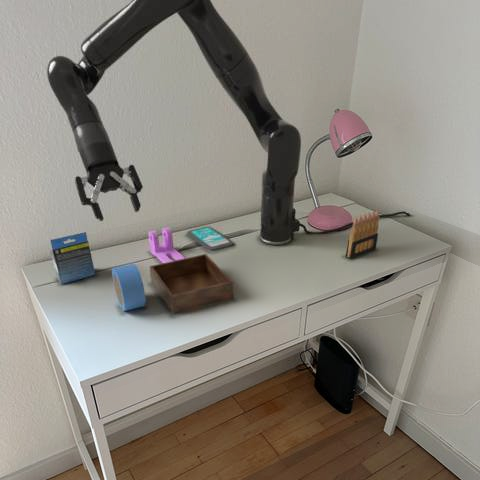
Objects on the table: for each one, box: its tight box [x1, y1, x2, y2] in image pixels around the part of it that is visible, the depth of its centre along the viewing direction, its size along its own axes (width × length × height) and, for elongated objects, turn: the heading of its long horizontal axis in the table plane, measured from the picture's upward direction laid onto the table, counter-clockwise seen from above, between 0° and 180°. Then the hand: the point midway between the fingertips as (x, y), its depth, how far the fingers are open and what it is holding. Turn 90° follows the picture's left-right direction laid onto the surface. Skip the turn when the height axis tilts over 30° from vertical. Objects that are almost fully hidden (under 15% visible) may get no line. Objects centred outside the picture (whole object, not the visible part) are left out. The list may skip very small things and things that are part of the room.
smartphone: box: [186, 226, 234, 252], centre depth 138 cm, size 9×1×15 cm
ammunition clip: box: [345, 209, 380, 260], centre depth 128 cm, size 11×2×12 cm, turn 126°
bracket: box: [148, 226, 186, 263], centre depth 126 cm, size 13×6×7 cm, turn 33°
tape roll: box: [111, 263, 146, 312], centre depth 105 cm, size 5×10×10 cm, turn 27°
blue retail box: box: [50, 231, 96, 285], centre depth 116 cm, size 9×4×12 cm, turn 123°
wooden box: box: [149, 253, 234, 315], centre depth 112 cm, size 15×16×5 cm
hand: (120, 215), depth 106 cm, fingers open, 8 cm apart
